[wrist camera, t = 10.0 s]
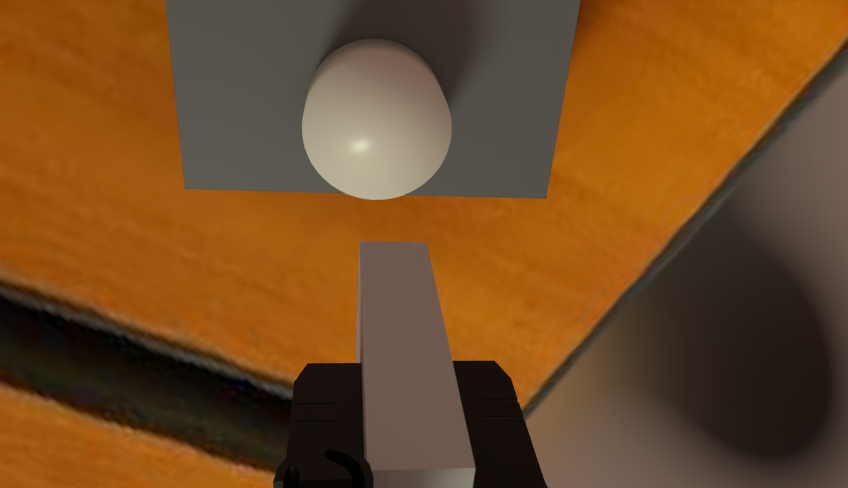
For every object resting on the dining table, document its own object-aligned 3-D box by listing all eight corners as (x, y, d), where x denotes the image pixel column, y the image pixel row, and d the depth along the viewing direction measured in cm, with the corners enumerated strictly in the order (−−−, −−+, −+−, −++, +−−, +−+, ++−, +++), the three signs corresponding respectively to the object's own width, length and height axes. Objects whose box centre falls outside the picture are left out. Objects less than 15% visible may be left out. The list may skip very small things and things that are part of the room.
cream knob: (312, 131, 33) (302, 198, 26) (311, 12, 30) (301, 52, 23) (425, 135, 33) (445, 201, 27) (434, 20, 31) (458, 60, 24)
